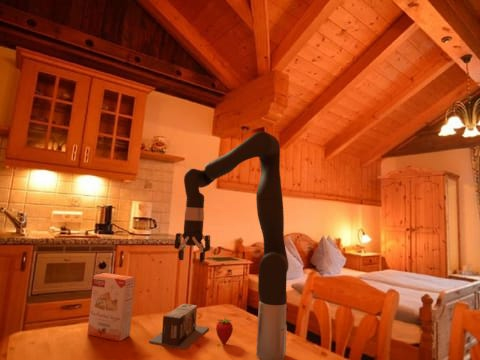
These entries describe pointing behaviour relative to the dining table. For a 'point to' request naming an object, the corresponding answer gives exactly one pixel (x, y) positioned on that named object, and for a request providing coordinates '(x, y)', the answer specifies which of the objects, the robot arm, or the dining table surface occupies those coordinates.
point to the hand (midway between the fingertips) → (191, 261)
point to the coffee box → (179, 324)
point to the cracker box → (111, 306)
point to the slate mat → (187, 342)
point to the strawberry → (224, 330)
